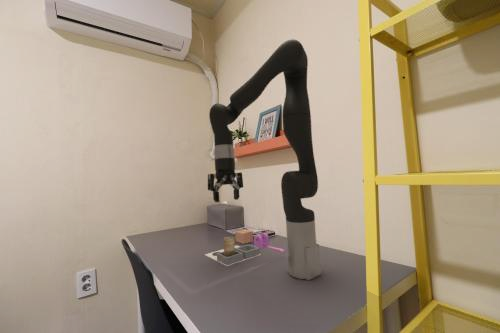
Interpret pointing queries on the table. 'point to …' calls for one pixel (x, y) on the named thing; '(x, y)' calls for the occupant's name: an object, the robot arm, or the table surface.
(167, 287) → the table surface
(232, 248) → the peg
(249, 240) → the orange cube
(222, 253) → the board
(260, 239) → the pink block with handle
